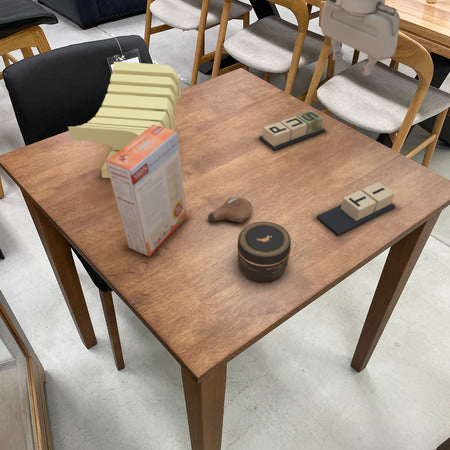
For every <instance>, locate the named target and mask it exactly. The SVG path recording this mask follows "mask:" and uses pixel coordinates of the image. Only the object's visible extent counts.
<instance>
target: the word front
mask: <svg viewBox="0 0 450 450" xmlns="http://www.w3.org/2000/svg"><path fill="white" fill-rule="evenodd" d="M395 194H396V193H395V192H394V191H392V190H391V189H389V188H388V187H386V186H385V185H384V184H382V183H381V182H379V181H377V182H375V183H373V184H370V185H368V186H366V187H364V188H362V189H359V190H357V191H355V192H353V193H351V194H348V195H346V196H344V197H343V198H342V201H341V204H339V205H337V206H335V207H333V208H331V209H329V210H326V211H324V212H322V213H320V214H317V216H316V218H315V219H317V220H318V221H319V222H320V223H322V224H323V225H324V226H325V227H326V228H327V229H329V230H330V231H331V232H332V233H333V234H334V235H336V236H337V237H340V236H341V235H343V234H345V233H347V232H349V231H351V230H353V229H356V228H357V227H359V226H361V225H364V224H365V223H368V222H369V221H371V220H373V219H376V218H377V217H379V216H382V215H384V214H386V213H388V212H390V211H393V210H394V209H396V205H395V204H394V203H393V199H394V197H395Z"/></svg>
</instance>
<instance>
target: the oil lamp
mask: <svg viewBox="0 0 450 450" xmlns="http://www.w3.org/2000/svg"><path fill="white" fill-rule="evenodd" d="M252 214H253V205H252V203H251V202H250V201H249V200H248V199H246V198H245V197H244V198H243V197H240V196H237V197H228V198H227V200H226V201H224V202H223V204H221V206H218V207H217V208H216V209H215V210H213V211H211V212H209V214H208V215H207V218H208V220H209V221H210V222H212V223H214V222H219V221H225V220H228V221H231V222H238V223H243V222H244V221H245V220H246V219H248V218H249V217H250V216H252Z"/></svg>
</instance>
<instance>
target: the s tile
mask: <svg viewBox="0 0 450 450" xmlns="http://www.w3.org/2000/svg"><path fill="white" fill-rule="evenodd" d="M296 117H297V118H299V119H300V120H302V121H303V122H305V123H306V124H307V130H306V133H307V134H308V133H311V132H314V131H316V130H319V129H321V128H323V121H324V117H323V116H321V115H319V114H318V113H317V112H315V111H313V110H308V111H305V112H302V113H300V114H296Z"/></svg>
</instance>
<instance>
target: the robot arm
mask: <svg viewBox="0 0 450 450" xmlns="http://www.w3.org/2000/svg"><path fill="white" fill-rule="evenodd" d="M400 24H401V17H400V14H399V13H398V10H397V8H395V7H393V6H389V5H387V4H386V0H326V1H325V2H324V4H323V7H322V11H321V19H320V30H321V31H320V32H321V33H322V36H323V35H324V36H325V37H328V38H330V39H331V40H330V41H331V42H330V43H331V48H332V52H333V54H332V60H333V61H335V62H337V63H339V62H342V60H343V58H344V57H343V56H344V53H345V52H343V51H342V45H345V46H347V47H349V48H351V49H354V50H356V51H357V52H360V53H363V54H365V55H367V56H366V57H367V58H366V60H367V61H368V62H366V64H364V65H362V66H361V70H360V74H361V75H363V76H365V77H368V76H371V74H372V71H373V67H374V66H375V65H376V64H377V63H378V61H380V62H382V61H385V60H388V59H390V58H392V57H393V56H394V55H395V53H396V51H397V46H398V40H399V32H400Z"/></svg>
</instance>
